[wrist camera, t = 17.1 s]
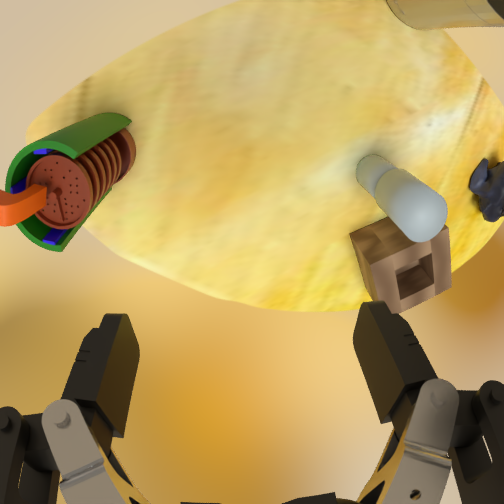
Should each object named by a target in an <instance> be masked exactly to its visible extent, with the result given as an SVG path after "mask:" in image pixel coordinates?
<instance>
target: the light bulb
mask: <svg viewBox="0 0 504 504" xmlns="http://www.w3.org/2000/svg"><path fill="white" fill-rule="evenodd" d="M356 178H357V180H358V182H359V183H360V185H361V186H363V187H364V188H365V189H366V190H367V191H368V192H369V193H370V194H371V195H372V196H373V197H374V198H375V199H376V202H377V204H378V206H379V207H380V208H381V209H382V210H383V211H384V212H385V213H386V214H387V215H388V216H389V217H390V218H391V220H392V221H393V222H394V223H395V224H396V225H397V226H398V227H399V228H400V229H401V230H402V232H403V233H404V234H405V235H406V236H407V237H408V238H409V239H410V240H412V241H414V242H425V241H428V240H430V239H432V238H433V237H435V236H436V235H437V234H438V233H439V232H440V231H441V229H442V228H443V226H444V224H445V222H446V218H447V204H446V202H445V200H444V198H443V197H442V196H441V195H439V194H438V193H437V192H435V191H434V190H433V189H431V188H430V187H429V186H427V185H426V184H424V183H423V182H422V181H420V180H419V179H417V178H416V177H414V176H413V175H412V174H410V173H409V172H407V171H405V170H403V169H398V168H397V167H395V166H394V165H393V164H391V163H390V162H388V161H386V160H385V159H383V158H382V157H380V156H378V155H368V156H366V157H364V158H363V159H362V160H361V161H360V162H359V164H358V166H357V169H356Z"/></svg>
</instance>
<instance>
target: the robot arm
mask: <svg viewBox="0 0 504 504" xmlns="http://www.w3.org/2000/svg"><path fill="white" fill-rule="evenodd" d="M387 2H388V4H389V6H390V8H391V10H392V11H393V12H394V14H395V15H396V16H397V17H398V18H399V19H400V20H401V21H402V22H404V23H405V24H407V25H408V26H410V27H413V28H415V29H419V30H430V29H442V28H457V27H495V26H496V27H504V0H387ZM353 345H354V349H355V352H356V355H357V358H358V360H359V363H360V366H361V368H362V371H363V374H364V377H365V379H366V382H367V385H368V388H369V390H370V393H371V396H372V399H373V402H374V405H375V408H376V411H377V413H378V417H379V420H380V423H381V424H383V423H387V422H391V421H392V423H393V426H394V428H393V430H392V432H391V435H390V437H389V440H388V442H387V444H386V446H385V449H384V451H383V453H382V456H381V458H380V460H379V463H378V465H377V467H376V469H375V471H374V473H373V475H372V477H371V478H370V480H369V481H368V482H367V484H366V485H365V487H364V489H363V490H362V492H361V494H360V496H359V497H358V499H357V501H352V500H348V499H340V498H336V496H335V492H333V493H327V494H322V495H316V496H309V497H302V498H297V499H294V500H291V501H288V502H285V503H282V504H439V503H440V500H441V498H442V495H443V492H444V489H445V486H446V483H447V479H448V476H449V473H450V470H451V465H452V469H453V472H454V476H455V479H456V483H457V486H458V490H459V493H460V497H461V501H462V504H504V384H502V383H500V382H498V381H493V380H490V381H487V382H485V383H484V384H483V385H482V386H481V388H480V389H479V390H478V391H466V390H464V391H463V390H456V388H455V387H454V386H453V385H452V384H451V383H449V382H448V381H446V380H443V379H439V378H438V377H437V375H436V373H435V371H434V369H433V367H432V366H431V364H430V362H429V360H428V358H427V356H426V354H425V352H424V351H423V349H422V347H421V345H419V341H418V339H417V338H416V336H414V333H413V331H412V329H411V327H410V325H409V324H408V322H407V321H406V320H405V319H403V318H402V317H401V316H400V315H399V314H398V313H394V314H392V313H391V311H390V309H389V308H388V306H387V304H386V303H385V301H383V300H380V301H371V302H363V303H362V304H361V307H360V310H359V314H358V318H357V322H356V326H355V330H354V334H353ZM139 351H140V350H139V344H138V342H137V339H136V336H135V333H134V330H133V328H132V325H131V322H130V319H129V317H128V315H127V314H105V315H104V317H103V319H102V322H101V324H100V327H99V328H93V329H92V330H91V331H90V332H89V333H88V334H87V335H86V336H85V337H84V339H83V341H82V344H81V346H80V349H79V352H78V354H77V356H76V359H75V360H76V361H75V362H74V364H73V367H72V369H71V372H70V375H69V378H68V381H67V383H66V386H65V389H64V392H63V394H62V397H61V399H60V400H57V401H54V402H53V403H51V404H50V405H48V406H47V408H46V409H45V411H44V412H43V413H39V414H32V415H24V416H22V415H21V414H20V413H19V412H18V411H17V410H16V409H15V408H13V407H8V406H7V407H2V408H0V504H56V501H57V492H58V486H59V485H60V490H61V493H62V495H63V497H64V499H65V501H66V503H67V504H150V503H149V501H148V500H147V499H146V498H145V497H144V496H143V494H142V493H141V492H140V491H139V490H138V488H137V487H136V486H135V484H134V483H133V481H132V480H131V478H130V476H129V475H128V473H127V472H126V470H125V469H124V467H123V465H122V463H121V462H120V460H119V458H118V457H117V455H116V453H115V452H114V450H113V448H112V447H111V442H112V437H118V438H124V432H125V426H126V421H127V415H128V410H129V405H130V400H131V395H132V390H133V386H134V381H135V377H136V372H137V368H138V363H139V357H140V352H139ZM483 435H484V438H485V440H486V443H487V446H488V449H489V452H490V454H491V457H492V462H491V459H490V456H489V454H488V451H487V448H486V446H485V443H484V440H483V438H482V436H483ZM447 453H448V456H449V457H448V456H447ZM22 464H23V467H22ZM21 468H22V472H21ZM60 473H61V475H62V478H63V480H62V481H61V482H60V483H59V478H60ZM20 474H21V477H20ZM19 479H20V482H19ZM18 484H19V488H18ZM181 504H220V503H189V502H181Z"/></svg>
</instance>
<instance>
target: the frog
mask: <svg viewBox="0 0 504 504" xmlns="http://www.w3.org/2000/svg"><path fill="white" fill-rule="evenodd" d="M487 166H488V160H487V159H483V160H482V161H481V163H480V164H479V166H478V167H477V169H476V170H475V172H474V173H473V175H472V178H471V184H470V190H471V191H472V192H473V193H475V194H477V195H478V196H479V206H480V210H481V212H482V214H483V218H484V220H486V221H489V222H495V221H497V220H498V219H499V218H500V217H501V216H504V161H503V162H502V163H501V162H499V163H498V166H496V167H494V168H492V169H487Z"/></svg>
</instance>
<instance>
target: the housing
mask: <svg viewBox="0 0 504 504" xmlns="http://www.w3.org/2000/svg"><path fill="white" fill-rule="evenodd" d="M350 237H351V240H352V243H353V246H354V249H355V253H356V256H357V259H358V263H359V266H360V269H361V273H362V276H363V280H364V283H365V287H366V289H367V291H368V293H369V294H370V296H371V298H372V300H373V301H380V300H383V301H385V303H386V304H387V306H388V308H389V309H390V311H391V313H392V314H394V313H398V314H399V313H401V312H403V311H405V310H407V309H410V308H412V307H414V306H416V305H418V304H420V303H422V302H424V301H426V300H428V299H430V298H432V297H434V296H436V295H438V294H440V293H441V292H443V291H445V290H447V289H449V288H451V255H450V240H449V228H448V227H447V226H446V225H445V224H444V226H443V228H442V229H441V231H440V232H439V233H438V234H437V235H436V236H435V237H433V238H432V239H430V240H428V241H425V242H414V241H412V240H410V239H409V238H408V237H407V236H406V235H405V234H404V233H403V232H402V230H401V229H400V228H399V227H398V226H397V225H396V224H395V223H394V222H393V221H392V220H391V218H390V217H387V218H384V219H382V220H380V221H378V222H375V223H373V224H371V225H368V226H366V227H364V228H362V229H359V230H357V231H355V232H352V233H350Z"/></svg>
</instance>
